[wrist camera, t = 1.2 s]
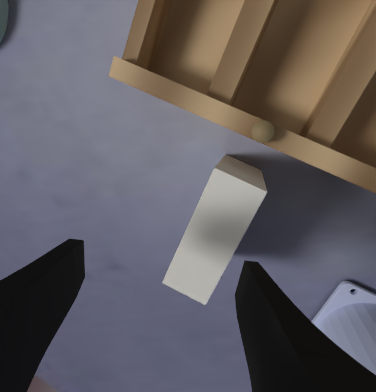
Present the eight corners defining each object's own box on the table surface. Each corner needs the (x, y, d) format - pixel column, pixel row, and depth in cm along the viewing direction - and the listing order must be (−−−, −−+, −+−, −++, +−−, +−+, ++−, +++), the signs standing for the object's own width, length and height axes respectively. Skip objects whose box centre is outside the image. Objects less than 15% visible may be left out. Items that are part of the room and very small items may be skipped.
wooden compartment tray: (520, 8, 14) (664, -55, 9) (385, 195, 18) (436, 220, 13) (197, -104, 16) (174, -205, 11) (137, 86, 20) (101, 73, 15)
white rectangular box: (261, 170, 20) (267, 192, 13) (218, 252, 22) (205, 305, 16) (225, 154, 20) (214, 167, 14) (187, 237, 23) (162, 282, 16)
